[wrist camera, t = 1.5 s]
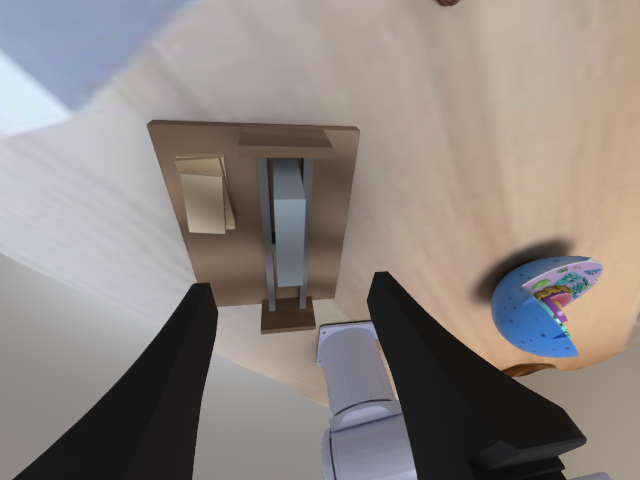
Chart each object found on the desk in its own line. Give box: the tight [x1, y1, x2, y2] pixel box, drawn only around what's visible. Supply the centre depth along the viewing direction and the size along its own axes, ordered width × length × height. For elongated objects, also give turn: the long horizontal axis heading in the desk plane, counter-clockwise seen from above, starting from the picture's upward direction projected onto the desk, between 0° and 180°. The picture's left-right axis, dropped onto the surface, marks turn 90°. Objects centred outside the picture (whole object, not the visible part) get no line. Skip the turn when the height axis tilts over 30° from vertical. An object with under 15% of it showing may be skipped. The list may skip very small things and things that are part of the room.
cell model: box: [491, 256, 604, 358], centre depth 27 cm, size 10×12×10 cm
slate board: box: [273, 158, 306, 287], centre depth 16 cm, size 6×2×6 cm, turn 176°
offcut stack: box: [175, 154, 236, 234], centre depth 18 cm, size 6×3×2 cm, turn 176°
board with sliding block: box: [147, 120, 360, 334], centre depth 20 cm, size 17×13×4 cm
